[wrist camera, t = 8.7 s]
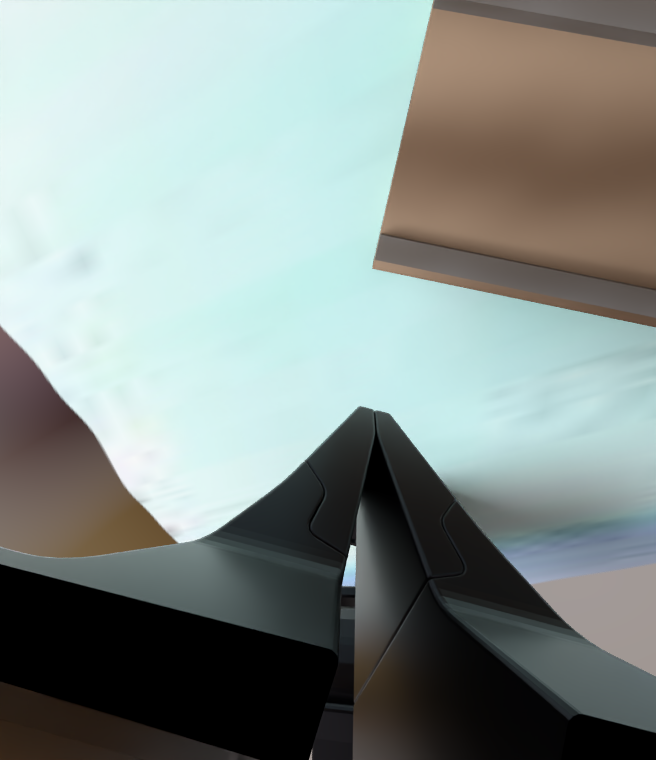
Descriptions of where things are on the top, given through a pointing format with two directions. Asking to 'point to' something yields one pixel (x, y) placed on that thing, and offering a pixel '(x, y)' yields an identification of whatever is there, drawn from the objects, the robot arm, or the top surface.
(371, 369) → the top surface
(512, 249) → the slider track
